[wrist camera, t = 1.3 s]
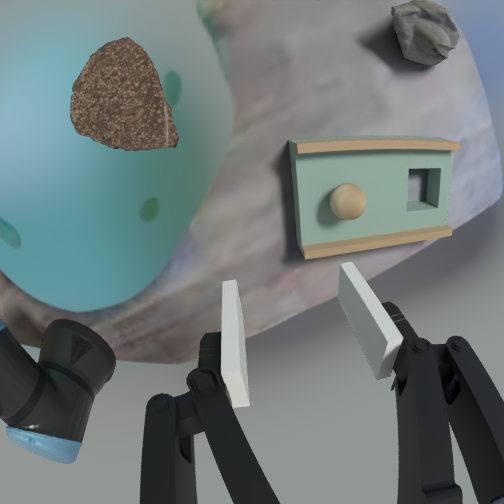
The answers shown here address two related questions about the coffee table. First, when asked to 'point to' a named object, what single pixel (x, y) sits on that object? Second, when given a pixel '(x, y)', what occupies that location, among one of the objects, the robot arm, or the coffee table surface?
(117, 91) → the rock
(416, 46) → the fossil
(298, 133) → the coffee table surface
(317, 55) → the coffee table surface
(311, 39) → the coffee table surface
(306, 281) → the coffee table surface
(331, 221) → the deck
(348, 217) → the ball
